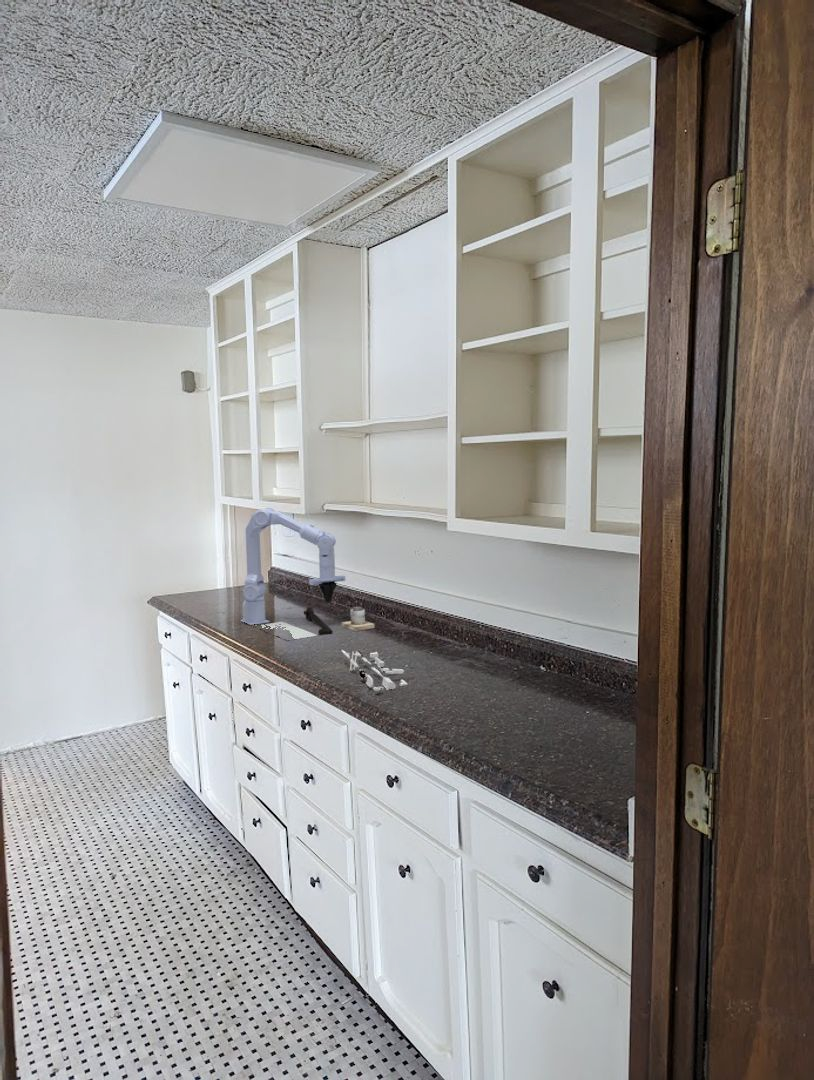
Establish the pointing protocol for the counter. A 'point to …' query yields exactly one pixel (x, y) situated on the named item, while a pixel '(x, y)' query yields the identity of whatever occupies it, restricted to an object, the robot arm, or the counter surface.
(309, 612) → the dark brown hooked rod
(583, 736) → the counter surface
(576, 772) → the counter surface
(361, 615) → the cup on beige base
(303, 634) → the tool mat
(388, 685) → the miniature set
